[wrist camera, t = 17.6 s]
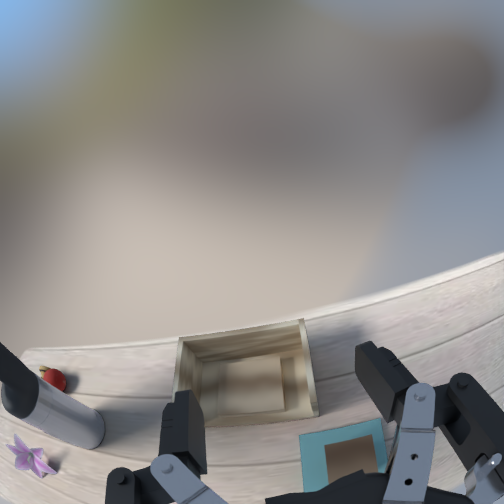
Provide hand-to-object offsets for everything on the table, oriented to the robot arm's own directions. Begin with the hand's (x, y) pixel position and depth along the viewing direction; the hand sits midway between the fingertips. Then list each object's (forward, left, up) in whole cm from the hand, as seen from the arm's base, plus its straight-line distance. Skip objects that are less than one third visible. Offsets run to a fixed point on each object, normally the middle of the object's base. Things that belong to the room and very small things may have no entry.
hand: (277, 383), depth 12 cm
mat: (+2, -5, -31) cm, 31 cm away
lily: (-56, +15, -31) cm, 66 cm away
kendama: (-51, +36, -31) cm, 69 cm away
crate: (-3, +14, -31) cm, 34 cm away
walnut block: (+2, -5, -30) cm, 30 cm away
